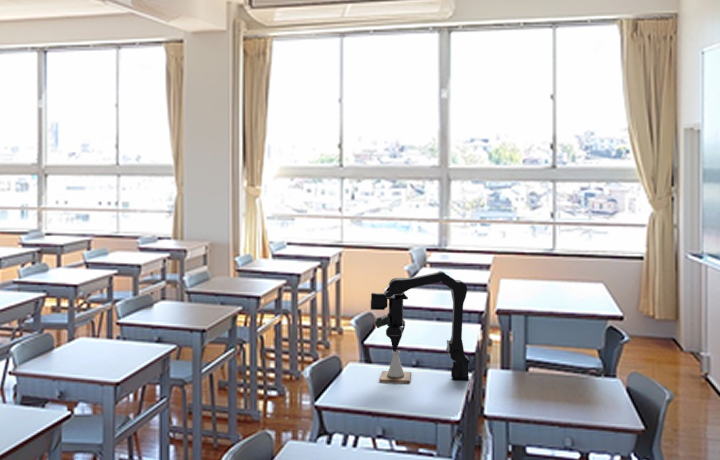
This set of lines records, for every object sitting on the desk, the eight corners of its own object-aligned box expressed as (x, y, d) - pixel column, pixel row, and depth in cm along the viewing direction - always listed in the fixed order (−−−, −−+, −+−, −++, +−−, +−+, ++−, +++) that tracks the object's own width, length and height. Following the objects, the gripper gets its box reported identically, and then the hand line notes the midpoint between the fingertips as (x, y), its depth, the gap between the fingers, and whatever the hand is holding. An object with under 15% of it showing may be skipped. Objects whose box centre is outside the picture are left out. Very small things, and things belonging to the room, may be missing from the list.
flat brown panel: (411, 376, 268) (411, 372, 268) (409, 385, 256) (409, 380, 256) (382, 375, 270) (382, 370, 270) (379, 384, 258) (379, 379, 258)
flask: (383, 376, 261) (384, 352, 261) (391, 372, 268) (391, 348, 267) (400, 379, 258) (400, 354, 257) (407, 374, 265) (407, 350, 264)
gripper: (378, 305, 271) (378, 341, 272) (373, 313, 253) (373, 353, 254) (405, 305, 270) (404, 342, 271) (401, 314, 251) (401, 354, 252)
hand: (395, 348), depth 262 cm, fingers open, 9 cm apart
